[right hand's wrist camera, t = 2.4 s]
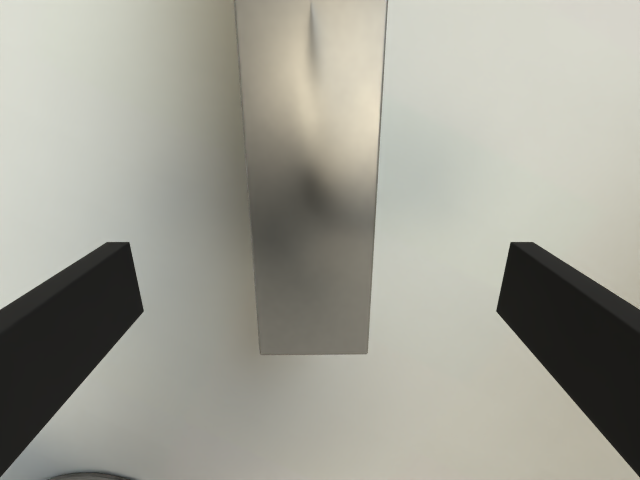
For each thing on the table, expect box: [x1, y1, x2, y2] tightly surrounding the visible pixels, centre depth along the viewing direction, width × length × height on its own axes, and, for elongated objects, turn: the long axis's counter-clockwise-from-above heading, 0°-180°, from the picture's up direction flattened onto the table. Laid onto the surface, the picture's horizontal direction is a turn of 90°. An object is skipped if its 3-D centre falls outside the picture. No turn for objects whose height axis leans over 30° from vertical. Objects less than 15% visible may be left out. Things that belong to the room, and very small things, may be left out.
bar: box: [234, 0, 388, 355], centre depth 15 cm, size 26×5×9 cm, turn 0°
